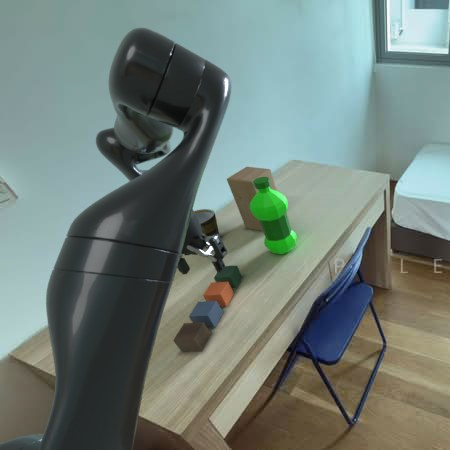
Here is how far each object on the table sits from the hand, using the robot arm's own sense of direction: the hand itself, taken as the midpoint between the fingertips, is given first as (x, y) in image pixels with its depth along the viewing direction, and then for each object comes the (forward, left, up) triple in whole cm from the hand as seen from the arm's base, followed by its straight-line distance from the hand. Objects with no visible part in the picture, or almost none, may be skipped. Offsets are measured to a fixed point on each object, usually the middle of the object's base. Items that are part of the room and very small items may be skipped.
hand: (203, 271), depth 77 cm
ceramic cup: (+26, +16, -11) cm, 33 cm away
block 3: (-6, 0, -11) cm, 13 cm away
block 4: (-13, 0, -11) cm, 17 cm away
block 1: (+7, 0, -11) cm, 13 cm away
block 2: (0, 0, -11) cm, 11 cm away
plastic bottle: (+21, -11, -11) cm, 27 cm away
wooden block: (+37, 0, -11) cm, 39 cm away
